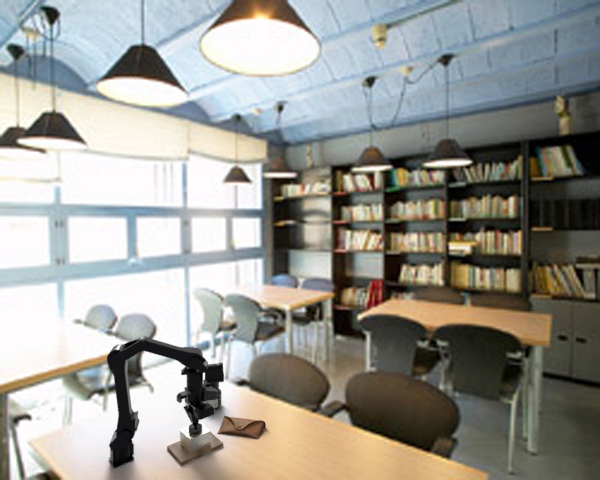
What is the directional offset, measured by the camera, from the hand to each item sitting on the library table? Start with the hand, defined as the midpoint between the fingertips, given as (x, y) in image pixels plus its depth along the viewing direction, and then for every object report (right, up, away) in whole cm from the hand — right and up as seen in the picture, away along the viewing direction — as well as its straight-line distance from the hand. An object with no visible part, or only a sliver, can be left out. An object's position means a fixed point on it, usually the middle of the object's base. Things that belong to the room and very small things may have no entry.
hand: (195, 426), depth 131 cm
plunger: (0, -6, 0) cm, 6 cm away
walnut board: (0, -8, 0) cm, 8 cm away
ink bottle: (-2, -7, +30) cm, 31 cm away
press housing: (0, -7, 0) cm, 7 cm away
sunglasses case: (+15, -8, +12) cm, 21 cm away
